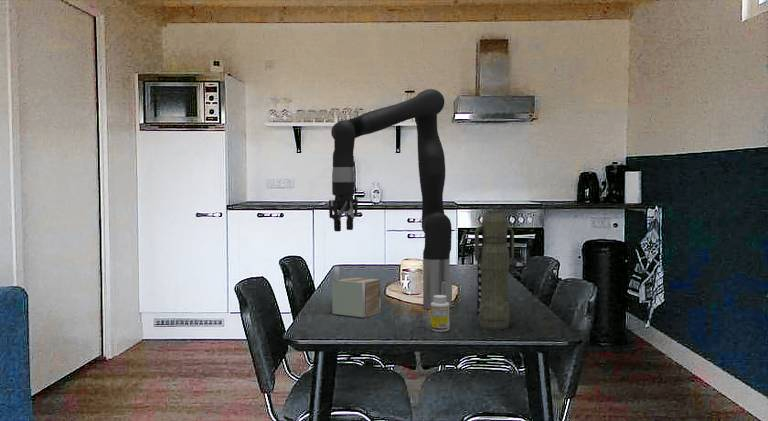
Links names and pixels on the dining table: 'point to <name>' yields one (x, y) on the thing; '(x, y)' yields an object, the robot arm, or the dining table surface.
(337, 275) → the grey-green rectangular panel
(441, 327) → the supplement bottle
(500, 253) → the thermos
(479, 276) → the white-spotted black cylinder
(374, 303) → the birch box
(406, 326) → the dining table surface
